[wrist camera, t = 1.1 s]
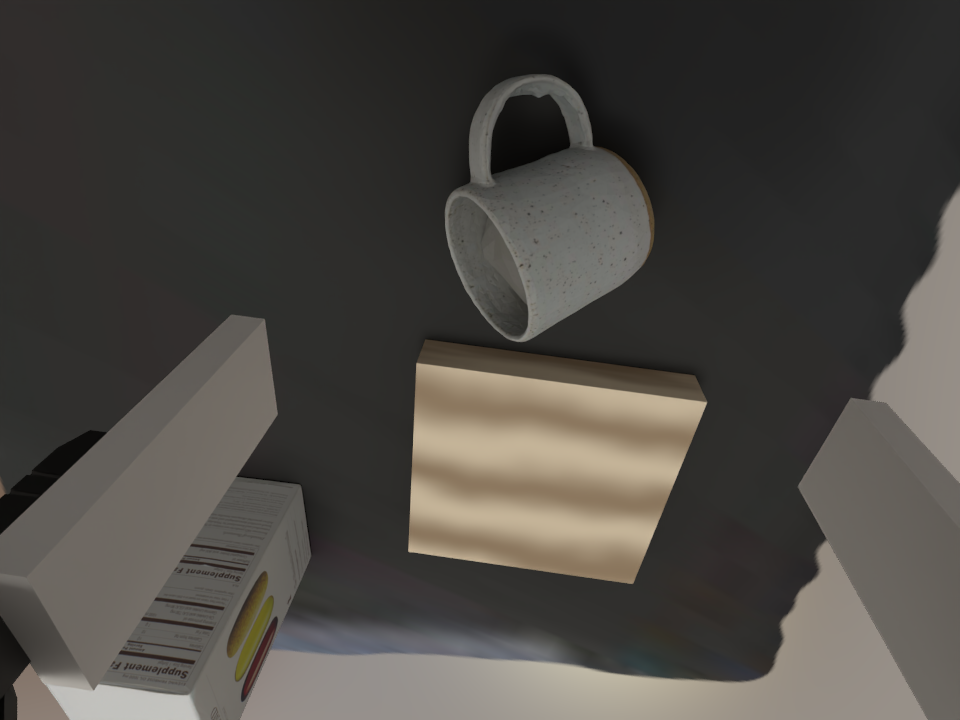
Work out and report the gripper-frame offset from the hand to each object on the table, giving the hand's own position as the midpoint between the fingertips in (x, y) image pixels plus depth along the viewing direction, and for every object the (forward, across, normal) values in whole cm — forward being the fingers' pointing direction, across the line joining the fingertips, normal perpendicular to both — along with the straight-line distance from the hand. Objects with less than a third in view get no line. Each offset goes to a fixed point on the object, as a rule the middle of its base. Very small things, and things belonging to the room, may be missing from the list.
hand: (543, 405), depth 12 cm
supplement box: (+20, -20, -31) cm, 42 cm away
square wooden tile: (+20, +3, -20) cm, 29 cm away
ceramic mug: (+21, 0, 0) cm, 21 cm away
